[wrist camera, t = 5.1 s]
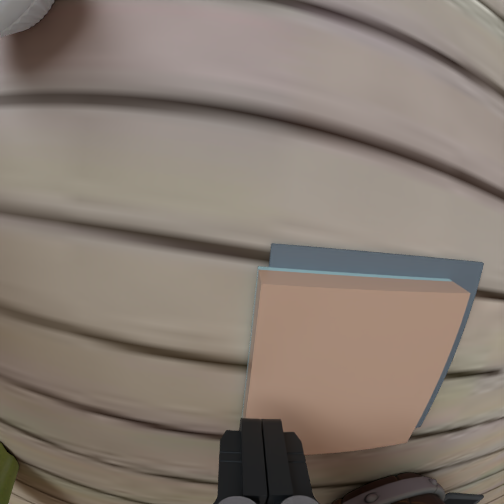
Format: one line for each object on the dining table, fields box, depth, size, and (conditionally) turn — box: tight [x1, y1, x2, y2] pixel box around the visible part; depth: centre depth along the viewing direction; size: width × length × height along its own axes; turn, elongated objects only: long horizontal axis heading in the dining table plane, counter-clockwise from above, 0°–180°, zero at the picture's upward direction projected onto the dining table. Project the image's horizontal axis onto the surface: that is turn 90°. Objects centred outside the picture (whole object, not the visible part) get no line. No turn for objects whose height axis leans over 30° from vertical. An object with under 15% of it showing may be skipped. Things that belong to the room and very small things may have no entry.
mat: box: [269, 243, 484, 428], centre depth 16 cm, size 12×12×1 cm
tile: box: [242, 266, 470, 455], centre depth 14 cm, size 10×2×10 cm
